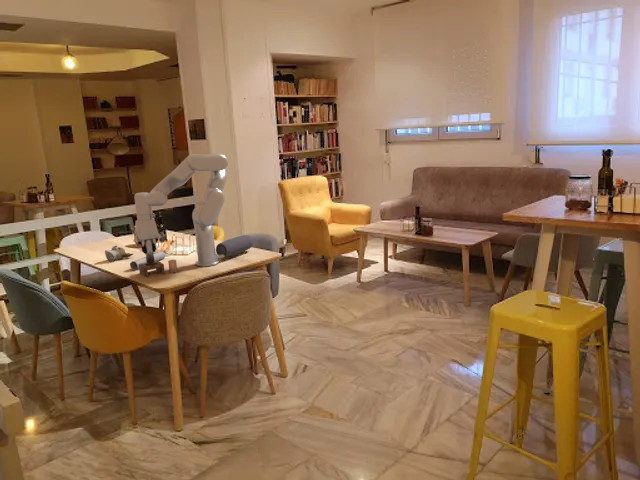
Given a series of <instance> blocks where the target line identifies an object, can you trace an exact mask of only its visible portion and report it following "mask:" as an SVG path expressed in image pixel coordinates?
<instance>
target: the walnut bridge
mask: <svg viewBox="0 0 640 480" xmlns="http://www.w3.org/2000/svg"><path fill="white" fill-rule="evenodd" d="M151 270H156V271H157V272H158V273H159V274H161V275H165V274H166V271H165V264H164V263H163V262H161V260H159V261H158V260H157V261H155V262H153V263H142V264H139V269H138V271H139V274H140V275H141V276H142V277H144V278H145V277H146V278H149V272H148V271H151Z"/></svg>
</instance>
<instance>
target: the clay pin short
mask: <svg viewBox="0 0 640 480" xmlns="http://www.w3.org/2000/svg"><path fill="white" fill-rule="evenodd" d="M167 264H168V271H169V273H170V274H173V272H175V273H177V272H178V263H177V259H169V260H168V262H167Z"/></svg>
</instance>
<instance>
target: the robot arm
mask: <svg viewBox="0 0 640 480" xmlns="http://www.w3.org/2000/svg"><path fill="white" fill-rule="evenodd" d="M228 165H229V160H228V157H227V156H226V155H224V154H222V153H210V154H203V153H202V154H199V153H191V154H189V155H187V157H185V158H184V159H183V160H182V161H181V162H180V163H179V164H178V165H177V166H176V167H175V169H173V170H172V171H171V172H170V173H169V174H168V175H166V176H165V177H164V178H163V179H162V180H160V181H159V182H158V183H157V184H156V185H155V186H154V187H153V188H152V189H151V190H150V192H142V191H141V192H137V193H135V194H134V197H133V198H134V205H135V211H136V212H135V213H136V218H137V220H135V223H134V224H135V236H134V239H133V242H135V243H136V244H139V245H140V246H141V252H142V253H143V254H146V247H145V245H144V241H145V240H148V239H152V244H153V252H154V253H156V250H157V243H158V242H159V240H160V239H162V235H161V234H160V233H159V231H158V227H157V222H156V221H155V218H154V217H156V213H153V208H152V207H162V206H164V205H166V204H167V202H168V195H169V194H170V193H171V192H173V191H175V189H178V188H180V187H181V186H184V185H185V184H186V183H187V182H188V181H189V180H190V179H191V178H192V177H193V176H194V175H195V174H196V173H197V172H210V176H209V178H208V181H207V184H206V186H205V189H204V190H203V192H202V195H201V200H202V201H203V204H202V205H197V206H196V207H195V208H194V209H193V210H192V215H191V217H192V222H193V228H194V233H195V235H194V236H195V243H196V244H195V245H196V253H197V261H195V266H196V267H212V266H215V265H216V266H217V264H219V263H220V260H219V259H224V254H221V255H220V254H218V255H217V253H216V246H215V237H214V227H213V225H214V223H216V221H217V219H218V217H219V215H220V214H221V211H222V208H223V207H224V204H225V199H226V197H225V194H224V191H223V190H224V187H225V185H226V182H227V179H228V178H227V177H228V174H227V173H228V172H227V167H228Z"/></svg>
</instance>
